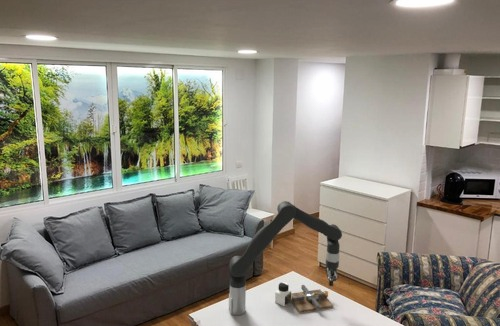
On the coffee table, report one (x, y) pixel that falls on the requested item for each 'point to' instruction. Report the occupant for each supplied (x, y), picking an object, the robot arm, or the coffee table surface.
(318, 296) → the spoked handwheel
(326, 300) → the stand board
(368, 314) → the coffee table surface
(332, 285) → the robot arm
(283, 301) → the medicine bottle
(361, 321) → the coffee table surface
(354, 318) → the coffee table surface
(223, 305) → the coffee table surface
